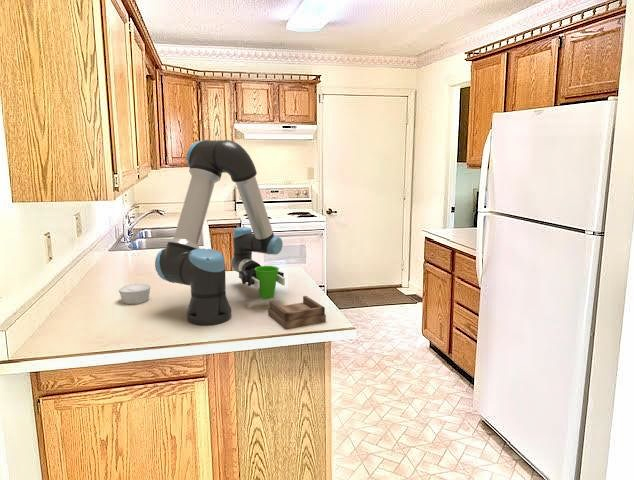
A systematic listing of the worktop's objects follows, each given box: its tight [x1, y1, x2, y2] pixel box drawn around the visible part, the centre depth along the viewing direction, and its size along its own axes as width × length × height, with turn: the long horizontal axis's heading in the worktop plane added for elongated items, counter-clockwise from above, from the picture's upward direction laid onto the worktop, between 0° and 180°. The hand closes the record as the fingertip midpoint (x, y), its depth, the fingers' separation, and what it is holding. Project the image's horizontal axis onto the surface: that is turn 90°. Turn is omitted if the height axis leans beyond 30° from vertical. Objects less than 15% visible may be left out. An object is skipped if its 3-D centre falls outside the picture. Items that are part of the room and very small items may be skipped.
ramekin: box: [118, 283, 151, 305], centre depth 179 cm, size 11×11×5 cm
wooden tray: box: [267, 295, 327, 330], centre depth 161 cm, size 15×15×5 cm
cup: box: [254, 265, 280, 300], centre depth 173 cm, size 9×9×11 cm
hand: (271, 283), depth 169 cm, fingers closed on cup, 9 cm apart
